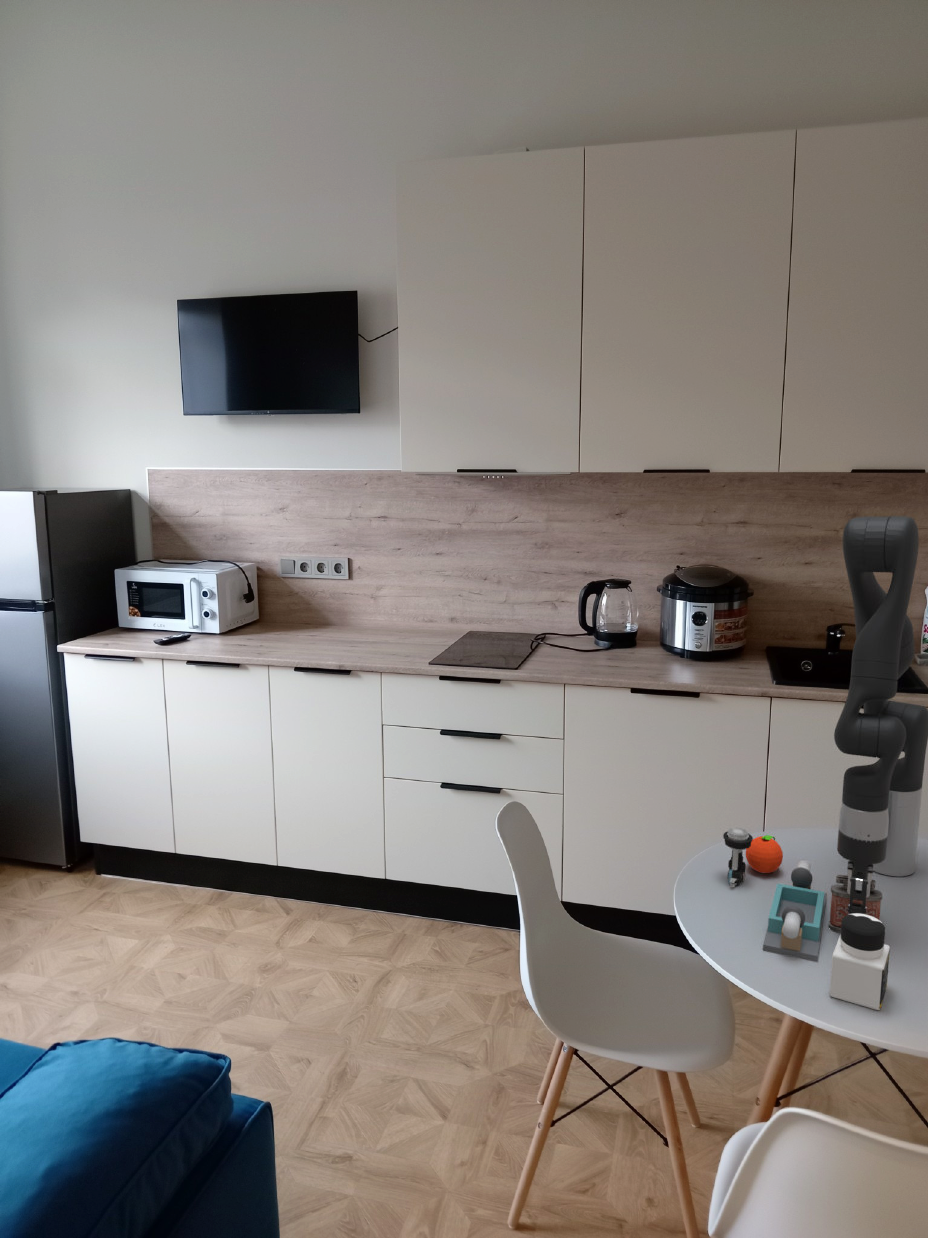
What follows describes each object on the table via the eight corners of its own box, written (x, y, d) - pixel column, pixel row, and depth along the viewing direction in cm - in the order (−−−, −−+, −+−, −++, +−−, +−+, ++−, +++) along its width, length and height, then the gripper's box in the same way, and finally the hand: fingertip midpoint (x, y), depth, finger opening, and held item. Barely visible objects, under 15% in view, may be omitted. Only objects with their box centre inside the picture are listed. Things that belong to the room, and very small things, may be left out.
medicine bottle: (880, 1012, 132) (886, 938, 130) (828, 997, 136) (833, 925, 134) (887, 987, 138) (892, 915, 136) (837, 973, 142) (842, 903, 140)
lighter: (878, 929, 154) (882, 875, 152) (880, 939, 151) (884, 885, 149) (827, 922, 157) (831, 869, 155) (828, 932, 154) (832, 878, 152)
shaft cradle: (778, 886, 169) (780, 853, 168) (826, 895, 166) (829, 861, 164) (761, 954, 148) (763, 916, 146) (816, 965, 144) (819, 927, 143)
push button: (745, 892, 167) (747, 842, 165) (716, 886, 170) (718, 837, 168) (753, 877, 173) (755, 829, 171) (725, 871, 176) (727, 823, 174)
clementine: (757, 857, 181) (759, 824, 179) (790, 868, 176) (792, 834, 175) (738, 871, 175) (739, 838, 174) (772, 883, 171) (773, 848, 169)
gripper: (887, 851, 142) (880, 944, 145) (888, 816, 155) (881, 903, 158) (836, 843, 145) (830, 934, 148) (841, 809, 158) (835, 894, 161)
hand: (856, 918), depth 153 cm, fingers open, 8 cm apart
